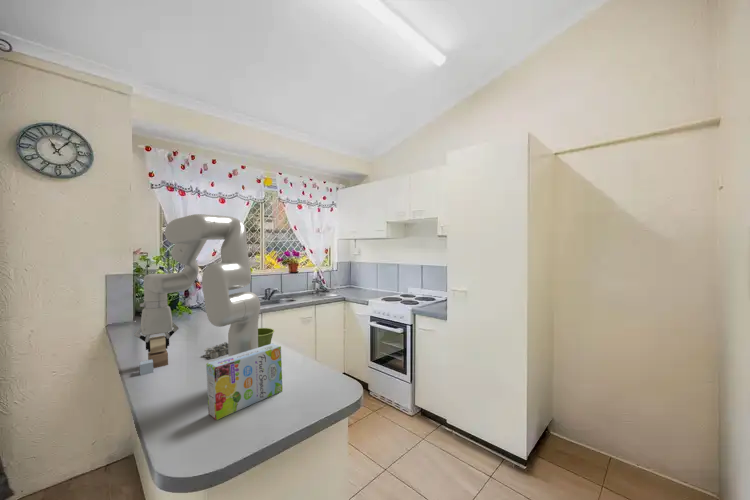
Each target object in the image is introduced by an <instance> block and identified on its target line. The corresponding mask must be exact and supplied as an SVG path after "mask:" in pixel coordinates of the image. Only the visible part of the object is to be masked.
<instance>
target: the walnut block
mask: <svg viewBox="0 0 750 500" xmlns="http://www.w3.org/2000/svg"><path fill="white" fill-rule="evenodd" d="M151 359H153V369H156V368H161V367H165V366H168V365H169V353H168V351H167V349H166V351H161V352H156V353H150V352H147V360H151Z"/></svg>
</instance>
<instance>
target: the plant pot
mask: <svg viewBox="0 0 750 500" xmlns="http://www.w3.org/2000/svg"><path fill="white" fill-rule="evenodd" d="M274 332H275V330H274V329H273V328H271V327H258V348H259V347H262V346H266V345H269V344H272V338H273V334H274Z"/></svg>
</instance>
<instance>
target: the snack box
mask: <svg viewBox="0 0 750 500" xmlns="http://www.w3.org/2000/svg"><path fill="white" fill-rule="evenodd" d="M282 363H283V362H282V346H281V345H278V344H275V343H271V344H269V345H266V346H262V347H259V348H256V349H252V350H249V351H246V352H243V353H239V354H236V355H233V356H229V355H228V356H226V357H224V358H220V359H217V360H212V361H210V362H207V363H206V365H205V366H206V387H207V406H208V407H207V411H208V415H209V416H210V417H212V418H213V419H214V420H215V421H218V420H220V419H222V418H225V417H226V416H229V415H231V414H233V413H235V412H238V411H240V410H243V409H245V408H247V407H249V406H253V404H256V403H259V402H260V401H263V400H266V399H267V398H269V397H272V396H274V395H276V394H278V393H281V392H283V369H282V366H283V365H282Z"/></svg>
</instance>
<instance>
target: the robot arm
mask: <svg viewBox="0 0 750 500" xmlns="http://www.w3.org/2000/svg"><path fill="white" fill-rule="evenodd" d="M164 235H165V239H166V240H167V242H169V243H170V244H173V248H172V250H171V251H170V252H171V253H170V255H171V257H172V258H173V260H175V261H176V262H178V263H179V264H181V265H185V266H184V268H183V270H181V272H172V273H165V274H164V273H150V274H145V276H144V277H143V295H144V296H143V297H144V299H143V300H144V301H143V302H141V303H139V307H140V308H141V307H142V308H143V309H142V311H141V319H140V323H141V324H140V327H138V329H137V330H136V332H135V333H134V334H133V336H134V337H135V338H138V339H140V340H141V341H143V342H144V343H145V351H147V353H149V352H150V340H149V338H151V336H152V335H159V334H164V336H165V339H166V350H167V349H168V347H169V346H170V338H171V337H172V336H173V335H174V334H175V333H176V332H177V331H179V329H180V328H179V326H177V324H176V323H174V322H173V317H172V316H173V315H172V309H171V306H169V305H168V294H173V293H177V292H184V291H187V290H189V289H190V288H191V287H192V286H193V284H194V282H196V279H197V278H198V276H199V264H198V262H197V258H198V256H199V255H200V253H201V251H202V250H203V248H204V246H205V244H206V243H207V241H208V240H209V241H210V240H212V241H215V240H217V241H218V240H223V242H222V244H221V246H220V257H221V261H220V262H214V263H211V264H209V265H207V266H206V267H205V268H204V270H203V272H202V275H201V285H202V287H201V288H202V292H203V299H204V306H205V311H206V312H205V313H206V316H207V319H208V321H209V323H211V325H213V327H214V326H215V327H218V328H219V327H220V328H221V327H225V326H229V328H228V334H227V343H228V353H227V354H228V357H229V356H233V355H236V354H239V353H243V352H246V351H249V350H252V349H256V348H258V328H259V318H260V313H261V300H260V298H259V296H258V295H257V294H256V293H254V292H252V291H241V292H240V291H239V292H235V293H231V294H230V293H229V292H230V291H232V290H238V289H242V288H245V287H247V286H249V284H251V282H252V270H251V265H250V258H249V253H248V245H247V240H248V239H247V236H248V235H247V229H246V226H245V224H244V223H243V222H242V221H241V220H240V219H238V218H236V217H233V216H227V215H215V214H214V215H213V214H202V213H201V214H200V213H196V214H190V215H186V216H183V217H179V218H174V219H172V220H170V222H169V223H168V224H167V225H166V226H165V229H164Z"/></svg>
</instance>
